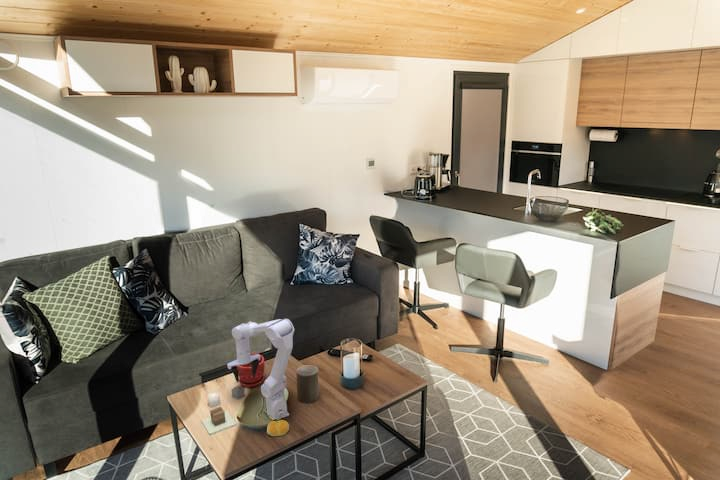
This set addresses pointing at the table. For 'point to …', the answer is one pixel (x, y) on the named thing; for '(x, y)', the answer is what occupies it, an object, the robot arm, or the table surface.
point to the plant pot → (246, 373)
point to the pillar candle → (307, 384)
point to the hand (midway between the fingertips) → (245, 378)
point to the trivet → (215, 429)
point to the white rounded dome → (213, 398)
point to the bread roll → (277, 428)
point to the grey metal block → (238, 392)
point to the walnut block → (217, 416)
